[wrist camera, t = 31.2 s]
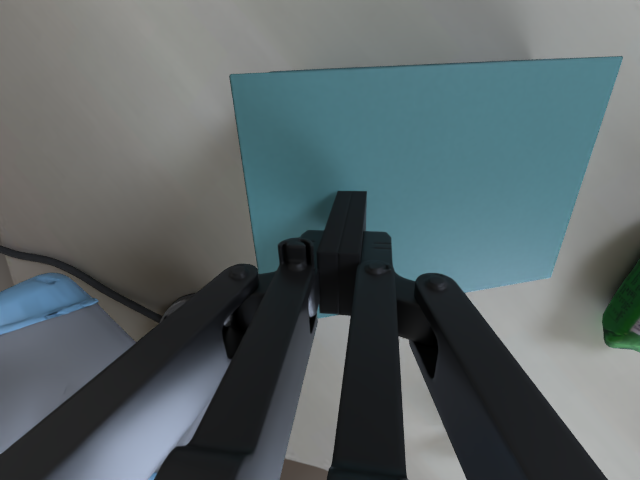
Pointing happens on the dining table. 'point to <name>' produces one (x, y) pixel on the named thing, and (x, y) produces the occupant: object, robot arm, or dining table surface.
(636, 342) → the snack package
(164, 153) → the dining table surface
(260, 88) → the lunchbox lid
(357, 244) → the robot arm
